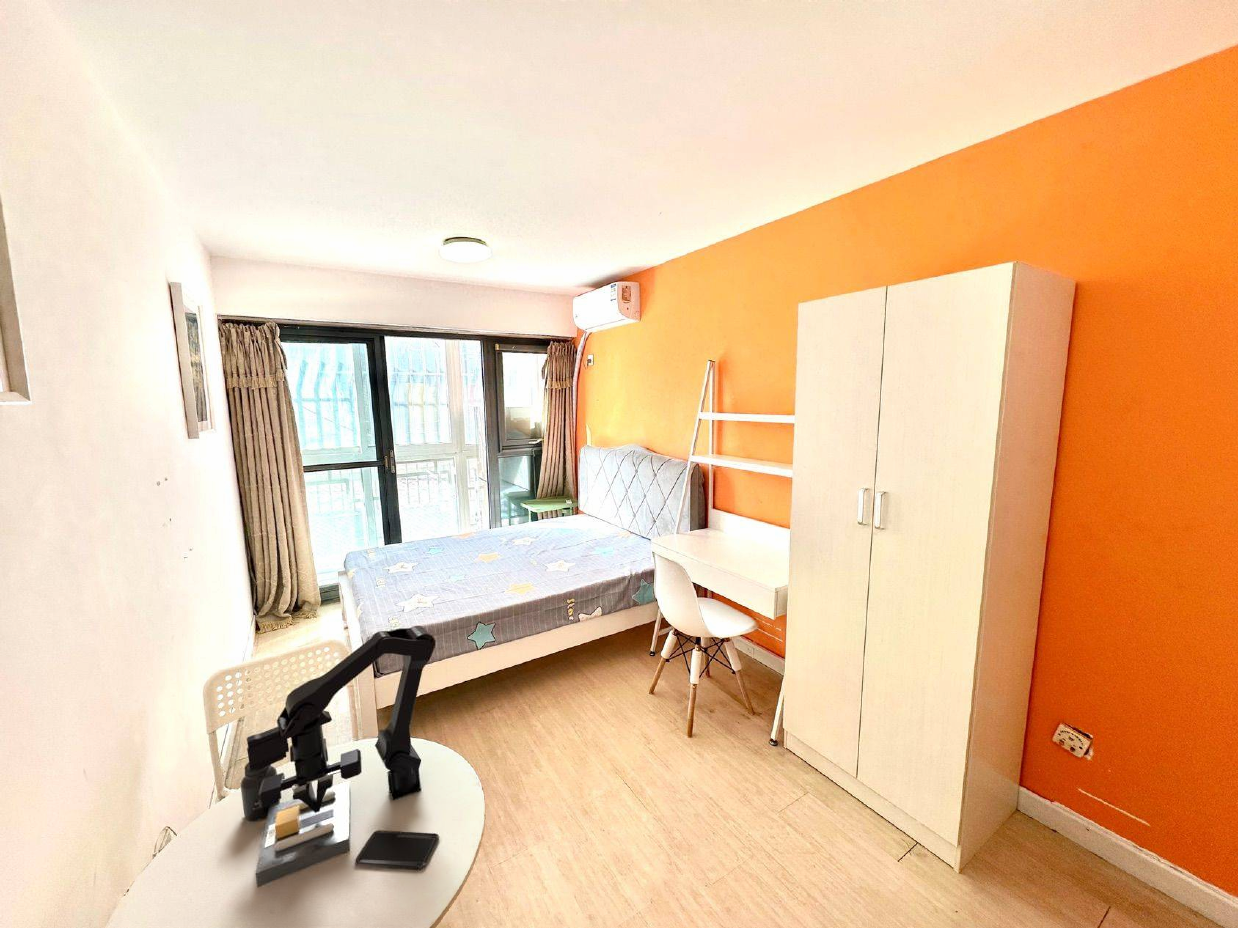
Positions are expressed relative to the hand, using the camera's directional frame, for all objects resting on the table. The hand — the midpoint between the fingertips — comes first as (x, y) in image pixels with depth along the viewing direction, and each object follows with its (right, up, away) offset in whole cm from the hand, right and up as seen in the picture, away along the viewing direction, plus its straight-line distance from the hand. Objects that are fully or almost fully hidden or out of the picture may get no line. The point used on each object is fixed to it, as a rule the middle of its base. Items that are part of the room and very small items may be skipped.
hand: (317, 810), depth 109 cm
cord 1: (+1, -3, -5) cm, 6 cm away
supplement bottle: (-17, -5, +7) cm, 18 cm away
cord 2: (-4, -1, +4) cm, 6 cm away
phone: (+20, -6, -5) cm, 21 cm away
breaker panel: (-2, -5, 0) cm, 5 cm away
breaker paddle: (-5, -2, -2) cm, 6 cm away
